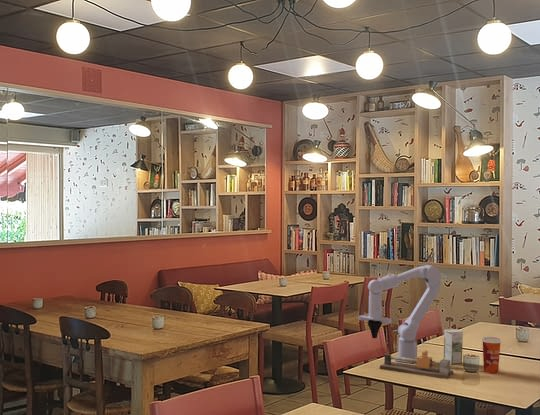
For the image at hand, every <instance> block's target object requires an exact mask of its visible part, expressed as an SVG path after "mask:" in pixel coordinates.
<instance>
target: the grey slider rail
mask: <svg viewBox="0 0 540 415" xmlns="http://www.w3.org/2000/svg"><path fill="white" fill-rule="evenodd" d="M392 360H394V361H395V360H401V361H408V362H413V363H416V364H417V359H411V358H404V357H398V355H397V356H395V355H392V354H391V353H386V354H384V362H383V364H381V365H379V369H380V370H387V371H392V372H393V371H394V372H399V373H405V374H413V375H420V376H426V377H431V378H432V377H433V378H438V379H445V380H446V379H448V378H449V377H451V376H452V375H454V370H452V369H451V364H450V360H446V359H444V358H443V359H441V360H439V361H435V360H432V361H430V365H431V366H432V367H431V368H429V369H428V368H422V367H417V365H416V364H411V363H404V362H397V361H395V362H394V361H392ZM435 366H437V367H439V368H435Z"/></svg>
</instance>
